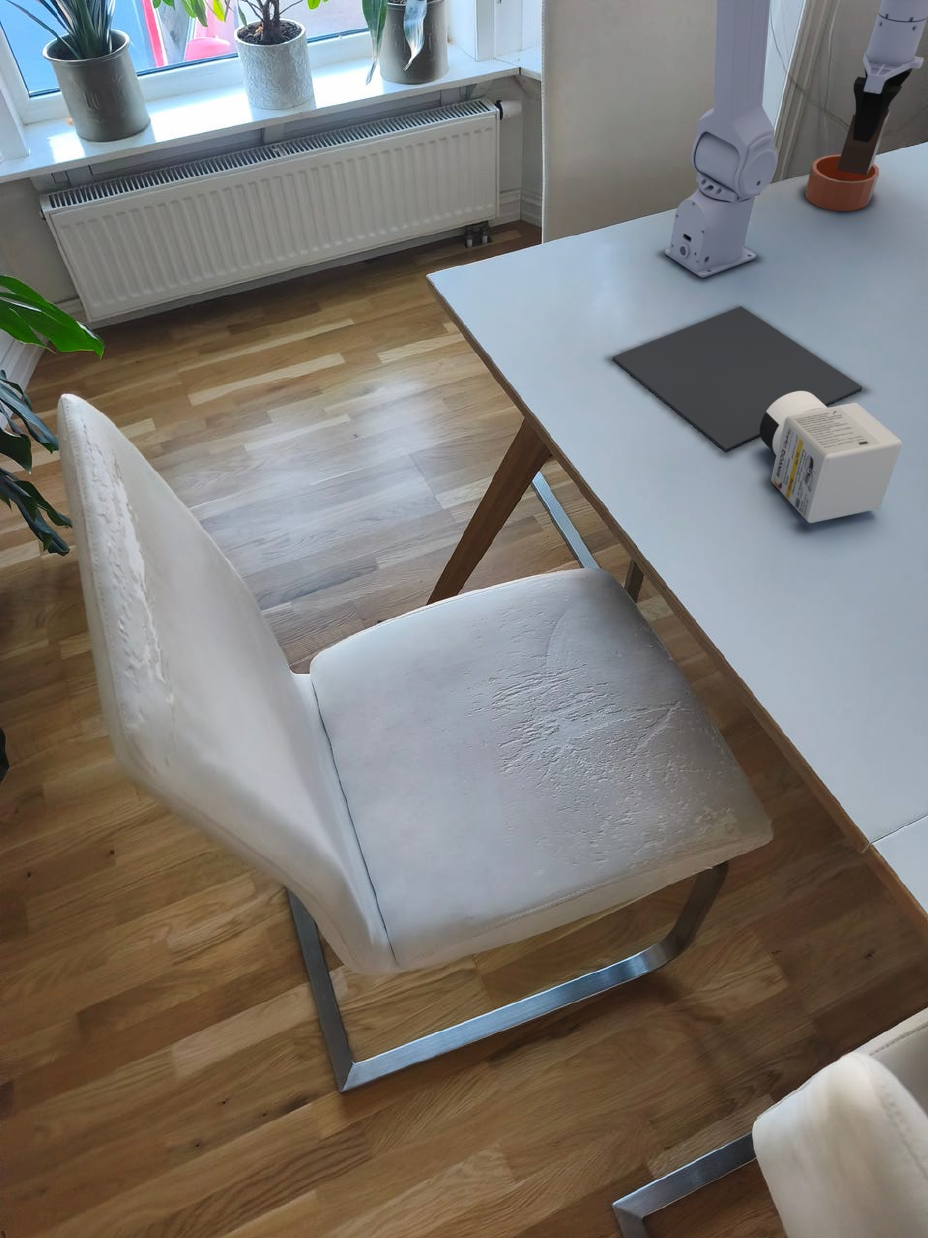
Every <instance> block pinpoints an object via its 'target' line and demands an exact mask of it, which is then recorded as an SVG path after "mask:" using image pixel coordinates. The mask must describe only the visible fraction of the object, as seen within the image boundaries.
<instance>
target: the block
mask: <svg viewBox="0 0 928 1238" xmlns="http://www.w3.org/2000/svg"><path fill="white" fill-rule="evenodd" d="M891 111H892V109H891V108H888V109H887V108H886V110H885V112H884V114H883V116H882V118H881V120H880V122H879V124H878V127H877V129H876V131H875V133H874V134H873V136H872V138H871V140H870V141H869V142H862V141H856V140H853V131H854V122H855V113H856V111H854V113H853V114H852V118H851V120H850V124H849V127H848V131H847V135H846V138H845V140H844V144H843V148H842V151H841V154H840V155H841V157H840V161H839V164H838V167H837V170H839V171H845V172H850V173H855V174H860V175H867V173H868V172H869V170H870V168H871V167H872V165H873V163H874V164H875V160H876V157H877V153H878V150H879V147H880V145H881V141H882V138H883V135H884V132H885V129H886V126H887V122H888V120H889V118H890V114H891Z"/></svg>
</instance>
